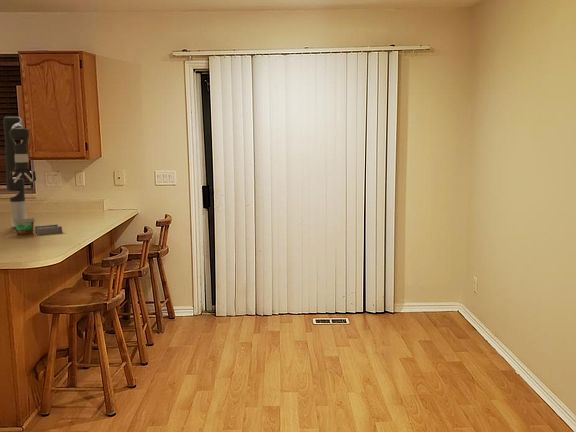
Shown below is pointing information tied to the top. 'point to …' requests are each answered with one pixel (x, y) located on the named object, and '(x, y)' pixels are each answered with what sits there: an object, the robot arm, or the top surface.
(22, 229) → the food container
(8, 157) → the robot arm
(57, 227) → the dock
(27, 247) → the top surface
